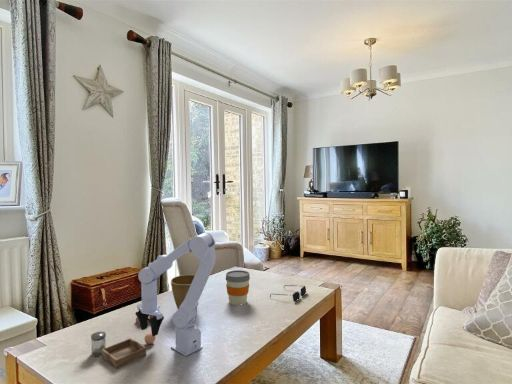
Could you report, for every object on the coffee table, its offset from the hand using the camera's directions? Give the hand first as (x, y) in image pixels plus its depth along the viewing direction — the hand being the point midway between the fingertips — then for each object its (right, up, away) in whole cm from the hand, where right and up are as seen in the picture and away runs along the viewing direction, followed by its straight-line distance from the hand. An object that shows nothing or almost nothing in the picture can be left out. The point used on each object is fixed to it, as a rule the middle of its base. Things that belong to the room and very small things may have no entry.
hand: (149, 332), depth 124 cm
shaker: (-16, -5, -7) cm, 18 cm away
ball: (0, -2, 0) cm, 2 cm away
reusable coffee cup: (+32, -3, +43) cm, 53 cm away
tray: (-6, -5, -9) cm, 12 cm away
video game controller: (-8, -4, +21) cm, 23 cm away
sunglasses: (+59, -3, +52) cm, 79 cm away
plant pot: (+8, -4, +30) cm, 31 cm away
